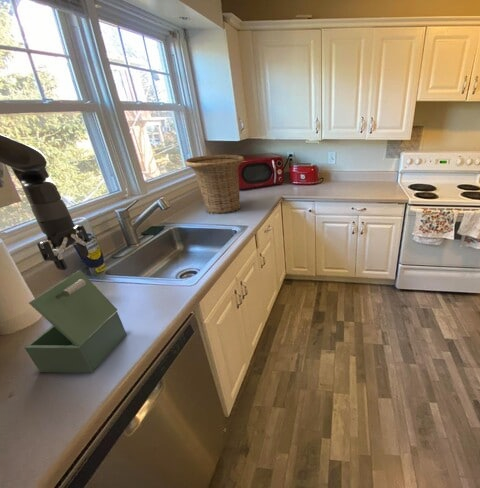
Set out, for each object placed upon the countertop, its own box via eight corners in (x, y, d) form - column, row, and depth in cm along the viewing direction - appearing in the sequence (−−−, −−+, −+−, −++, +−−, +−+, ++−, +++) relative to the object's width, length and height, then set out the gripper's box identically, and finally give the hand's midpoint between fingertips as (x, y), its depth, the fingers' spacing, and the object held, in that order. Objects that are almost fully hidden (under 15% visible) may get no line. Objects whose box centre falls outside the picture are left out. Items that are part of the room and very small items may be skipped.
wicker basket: (231, 220, 170) (222, 164, 155) (183, 215, 179) (170, 162, 164) (259, 203, 200) (253, 155, 185) (217, 199, 209) (208, 153, 194)
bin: (40, 372, 72) (24, 347, 68) (82, 334, 84) (70, 311, 80) (92, 373, 72) (78, 348, 68) (126, 334, 84) (117, 311, 80)
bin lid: (28, 302, 62) (43, 296, 61) (78, 270, 74) (91, 264, 73) (76, 347, 68) (91, 341, 67) (115, 310, 80) (128, 305, 79)
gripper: (61, 207, 90) (81, 252, 97) (16, 224, 77) (43, 274, 84) (84, 207, 90) (102, 252, 97) (42, 224, 77) (67, 274, 84)
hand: (74, 262), depth 91 cm, fingers open, 8 cm apart
